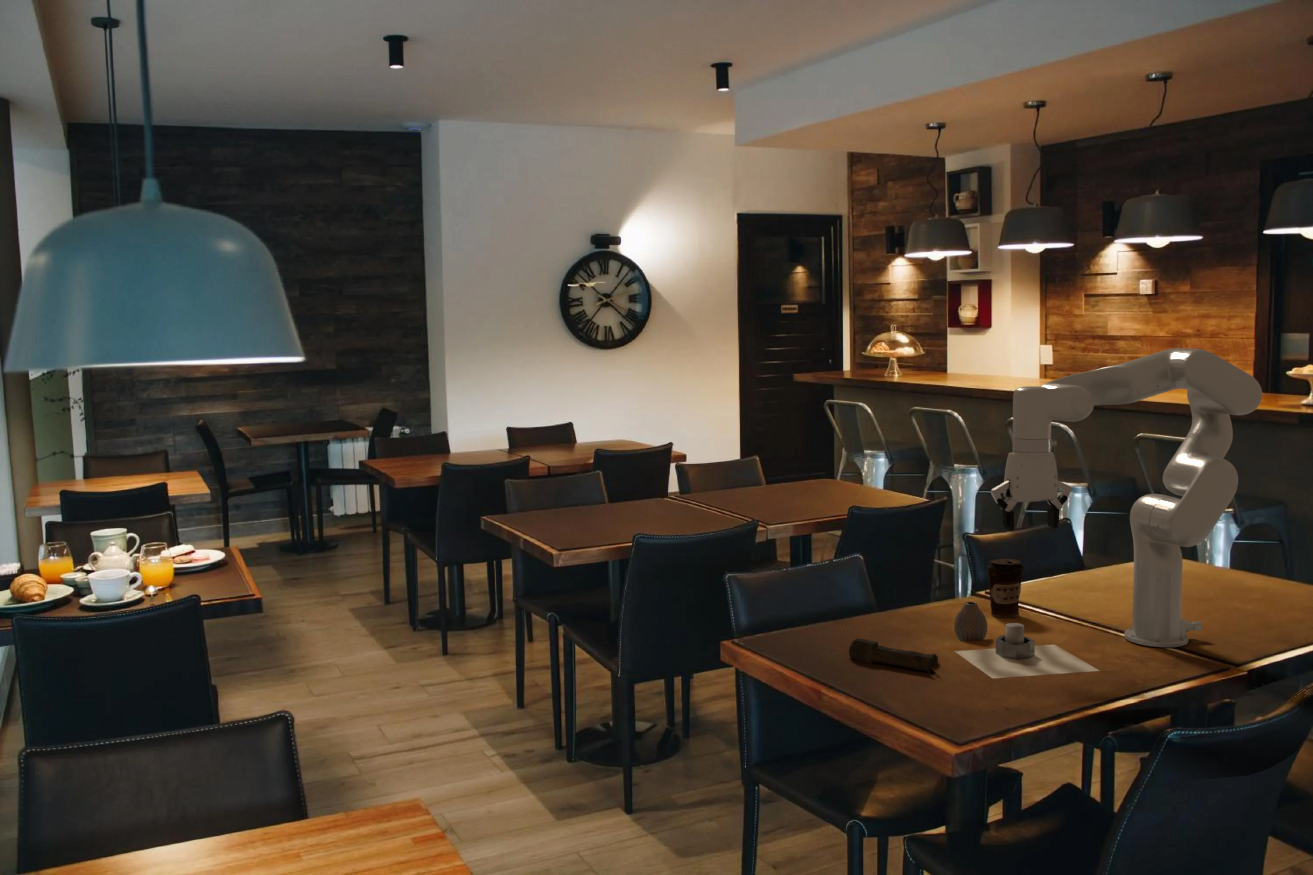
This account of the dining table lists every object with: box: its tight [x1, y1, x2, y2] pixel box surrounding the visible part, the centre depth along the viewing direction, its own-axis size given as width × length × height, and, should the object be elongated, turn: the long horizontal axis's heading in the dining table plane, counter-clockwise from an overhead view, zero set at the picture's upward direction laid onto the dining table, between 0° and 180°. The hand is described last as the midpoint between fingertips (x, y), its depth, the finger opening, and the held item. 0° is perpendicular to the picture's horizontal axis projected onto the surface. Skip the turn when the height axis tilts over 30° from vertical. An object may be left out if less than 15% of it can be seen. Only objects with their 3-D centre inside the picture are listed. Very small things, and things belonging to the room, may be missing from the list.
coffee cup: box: [986, 558, 1025, 618], centre depth 261 cm, size 9×8×13 cm
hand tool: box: [848, 638, 939, 676], centre depth 226 cm, size 19×4×5 cm, turn 51°
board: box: [954, 622, 1101, 679], centre depth 222 cm, size 22×18×8 cm
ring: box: [995, 634, 1036, 660], centre depth 226 cm, size 7×7×3 cm
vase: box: [953, 601, 988, 642], centre depth 240 cm, size 7×7×9 cm
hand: (1030, 528), depth 230 cm, fingers open, 9 cm apart
